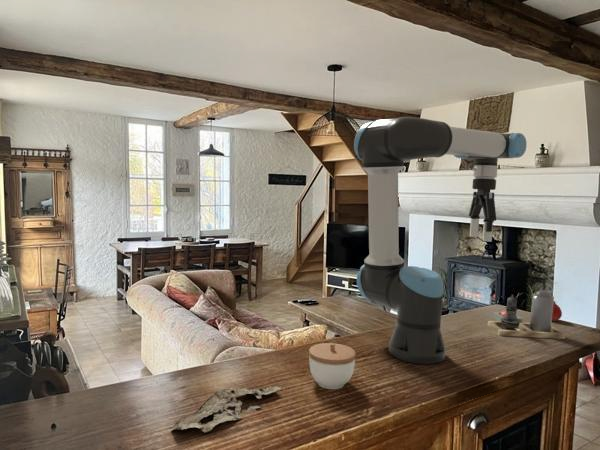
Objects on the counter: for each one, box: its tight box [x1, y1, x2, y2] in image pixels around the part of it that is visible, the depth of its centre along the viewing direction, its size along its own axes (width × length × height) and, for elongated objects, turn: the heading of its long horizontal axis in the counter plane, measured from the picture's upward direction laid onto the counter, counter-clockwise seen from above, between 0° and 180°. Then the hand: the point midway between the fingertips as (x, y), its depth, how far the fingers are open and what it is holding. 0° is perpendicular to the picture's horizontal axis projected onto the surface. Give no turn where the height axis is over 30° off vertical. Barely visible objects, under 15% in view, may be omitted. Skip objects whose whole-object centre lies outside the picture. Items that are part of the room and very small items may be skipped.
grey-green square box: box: [493, 311, 523, 323], centre depth 157 cm, size 7×7×3 cm
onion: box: [552, 300, 563, 322], centre depth 160 cm, size 6×6×8 cm
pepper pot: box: [529, 289, 555, 332], centre depth 145 cm, size 6×6×14 cm
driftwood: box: [169, 385, 282, 433], centre depth 90 cm, size 25×10×5 cm
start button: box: [500, 310, 506, 317], centre depth 157 cm, size 4×4×3 cm
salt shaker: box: [501, 294, 521, 330], centre depth 145 cm, size 6×6×12 cm
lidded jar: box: [308, 342, 357, 390], centre depth 104 cm, size 11×11×9 cm
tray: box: [487, 320, 566, 340], centre depth 145 cm, size 20×10×2 cm, turn 87°
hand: (480, 239), depth 159 cm, fingers open, 13 cm apart
